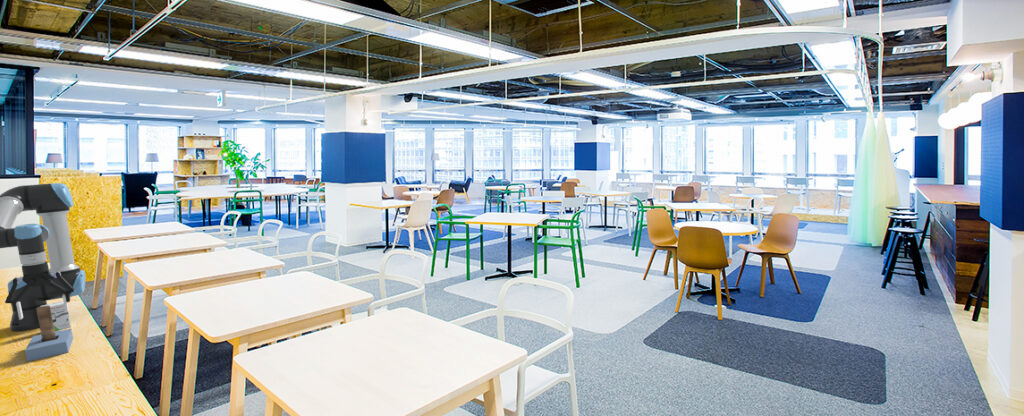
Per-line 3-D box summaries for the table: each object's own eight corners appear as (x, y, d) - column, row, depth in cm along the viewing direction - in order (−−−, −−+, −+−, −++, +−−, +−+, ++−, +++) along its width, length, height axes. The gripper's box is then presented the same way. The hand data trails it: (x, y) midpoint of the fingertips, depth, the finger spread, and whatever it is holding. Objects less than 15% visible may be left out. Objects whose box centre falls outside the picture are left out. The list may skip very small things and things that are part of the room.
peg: (45, 349, 203) (37, 307, 200) (58, 346, 205) (50, 304, 203) (44, 352, 200) (35, 309, 197) (57, 349, 202) (49, 307, 199)
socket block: (34, 346, 206) (32, 336, 206) (73, 338, 213) (71, 328, 212) (26, 361, 192) (24, 350, 191) (68, 352, 199) (66, 341, 198)
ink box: (46, 333, 220) (41, 308, 218) (43, 331, 223) (38, 306, 221) (71, 327, 227) (67, 302, 226) (67, 325, 230) (63, 300, 228)
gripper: (-13, 271, 187) (-1, 325, 190) (74, 259, 201) (84, 309, 205) (-8, 267, 193) (3, 319, 196) (76, 255, 207) (85, 304, 211)
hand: (44, 314), depth 201 cm, fingers open, 13 cm apart
